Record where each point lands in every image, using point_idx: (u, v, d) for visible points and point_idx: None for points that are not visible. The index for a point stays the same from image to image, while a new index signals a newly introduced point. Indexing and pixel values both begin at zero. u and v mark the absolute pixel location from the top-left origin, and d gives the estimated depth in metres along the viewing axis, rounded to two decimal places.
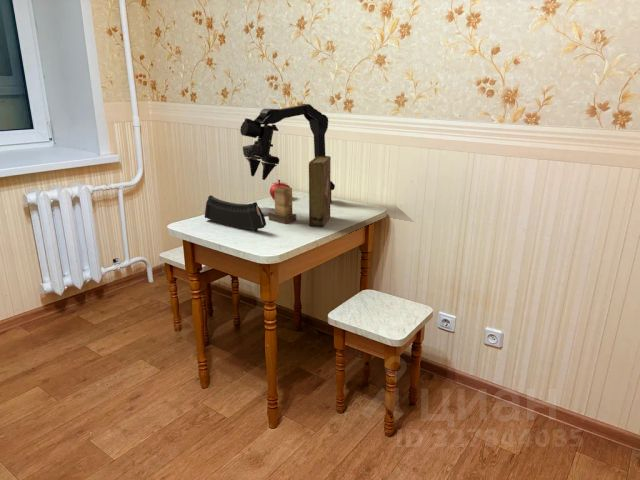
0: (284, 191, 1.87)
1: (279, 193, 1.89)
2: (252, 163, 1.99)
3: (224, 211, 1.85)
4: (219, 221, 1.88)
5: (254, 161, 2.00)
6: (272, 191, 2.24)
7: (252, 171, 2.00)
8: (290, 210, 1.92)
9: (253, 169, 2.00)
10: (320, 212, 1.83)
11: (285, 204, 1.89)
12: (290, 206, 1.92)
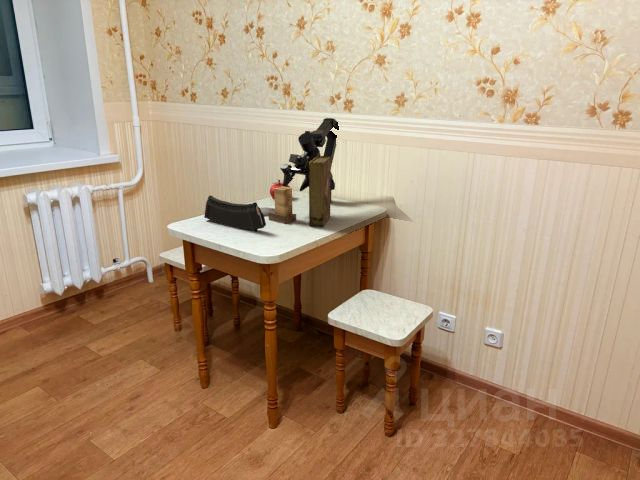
0: (284, 191, 1.87)
1: (279, 193, 1.89)
2: (287, 176, 1.98)
3: (224, 211, 1.85)
4: (219, 221, 1.88)
5: (289, 175, 1.99)
6: (272, 191, 2.24)
7: (285, 182, 1.97)
8: (290, 210, 1.92)
9: (285, 182, 1.98)
10: (320, 212, 1.83)
11: (285, 204, 1.89)
12: (290, 206, 1.92)
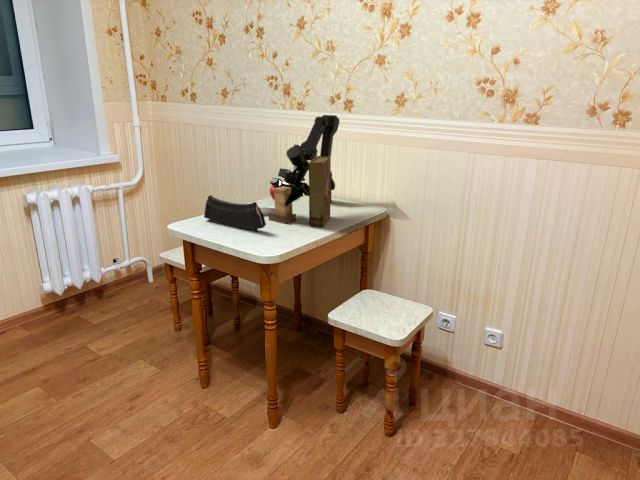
0: (284, 191, 1.87)
1: (279, 193, 1.89)
2: None
3: (223, 211, 1.85)
4: (219, 221, 1.88)
5: None
6: (272, 191, 2.24)
7: None
8: (290, 210, 1.92)
9: None
10: (320, 212, 1.83)
11: None
12: (290, 206, 1.92)
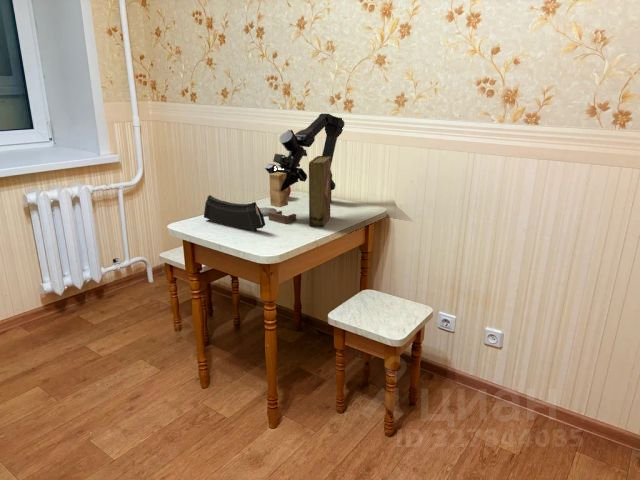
0: (279, 176, 1.88)
1: (274, 178, 1.89)
2: None
3: (223, 211, 1.85)
4: (218, 221, 1.88)
5: None
6: None
7: None
8: (285, 195, 1.93)
9: None
10: (320, 212, 1.83)
11: (280, 189, 1.90)
12: (285, 191, 1.92)
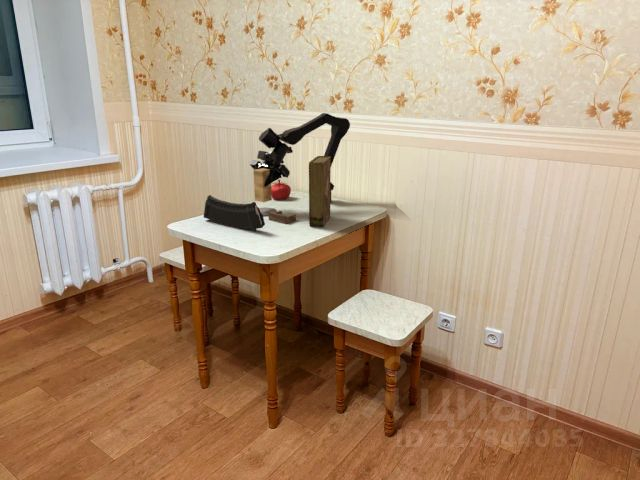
0: (263, 172, 1.96)
1: (258, 174, 1.97)
2: None
3: (223, 211, 1.85)
4: (218, 221, 1.88)
5: None
6: (272, 191, 2.24)
7: None
8: (269, 191, 2.01)
9: None
10: (320, 212, 1.83)
11: None
12: (269, 187, 2.00)
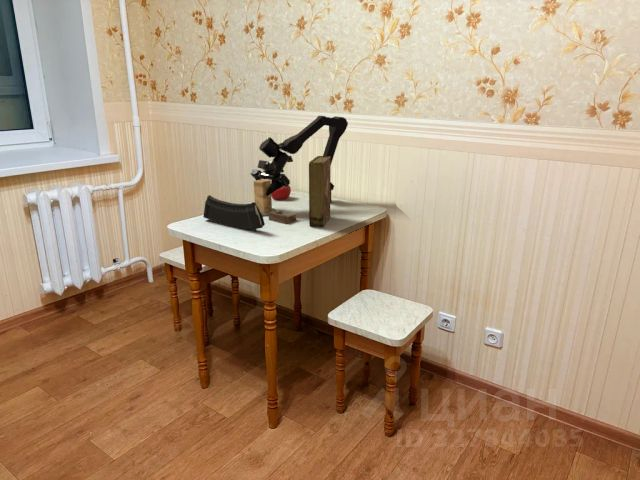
0: (263, 183, 1.97)
1: (258, 185, 1.98)
2: None
3: (223, 211, 1.85)
4: (218, 221, 1.88)
5: None
6: None
7: None
8: (269, 201, 2.02)
9: None
10: (320, 212, 1.83)
11: (264, 196, 1.99)
12: (269, 198, 2.02)
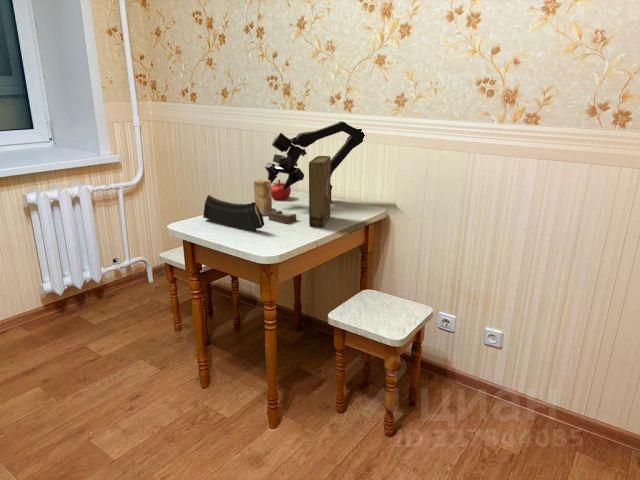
0: (263, 183, 1.97)
1: (258, 185, 1.98)
2: (271, 174, 2.10)
3: (222, 211, 1.85)
4: (218, 221, 1.88)
5: (273, 173, 2.11)
6: (272, 191, 2.24)
7: None
8: (269, 202, 2.02)
9: (270, 180, 2.10)
10: (320, 212, 1.83)
11: (264, 196, 1.99)
12: (269, 198, 2.02)
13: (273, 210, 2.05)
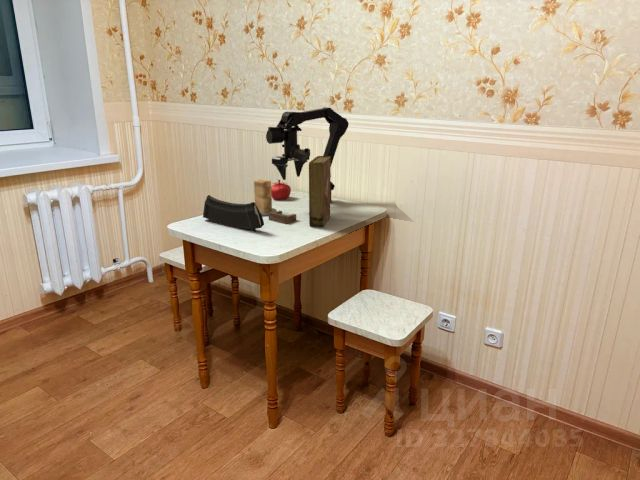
0: (263, 183, 1.97)
1: (258, 185, 1.98)
2: None
3: (222, 211, 1.85)
4: (217, 221, 1.88)
5: None
6: (272, 191, 2.24)
7: None
8: (269, 202, 2.02)
9: None
10: (320, 212, 1.83)
11: (264, 196, 1.99)
12: (269, 198, 2.02)
13: (273, 210, 2.05)
